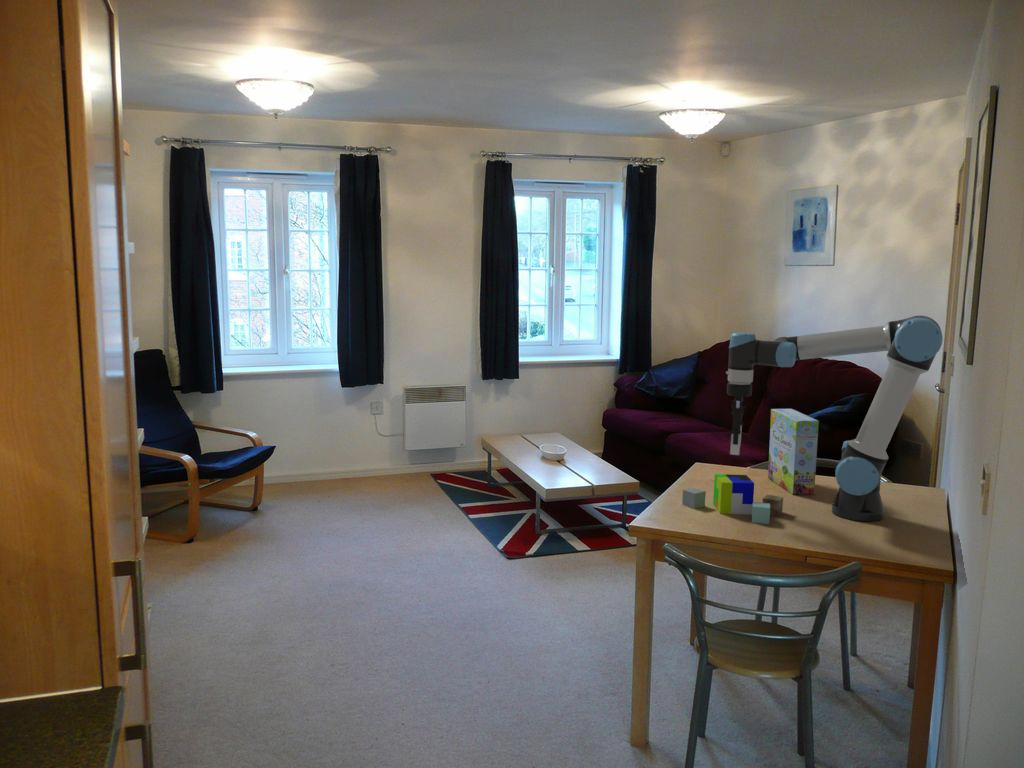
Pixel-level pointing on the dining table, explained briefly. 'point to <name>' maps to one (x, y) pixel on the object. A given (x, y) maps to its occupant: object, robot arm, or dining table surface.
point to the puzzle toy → (733, 494)
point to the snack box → (793, 451)
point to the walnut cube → (774, 504)
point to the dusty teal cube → (760, 512)
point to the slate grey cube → (693, 498)
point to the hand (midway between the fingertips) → (735, 449)
